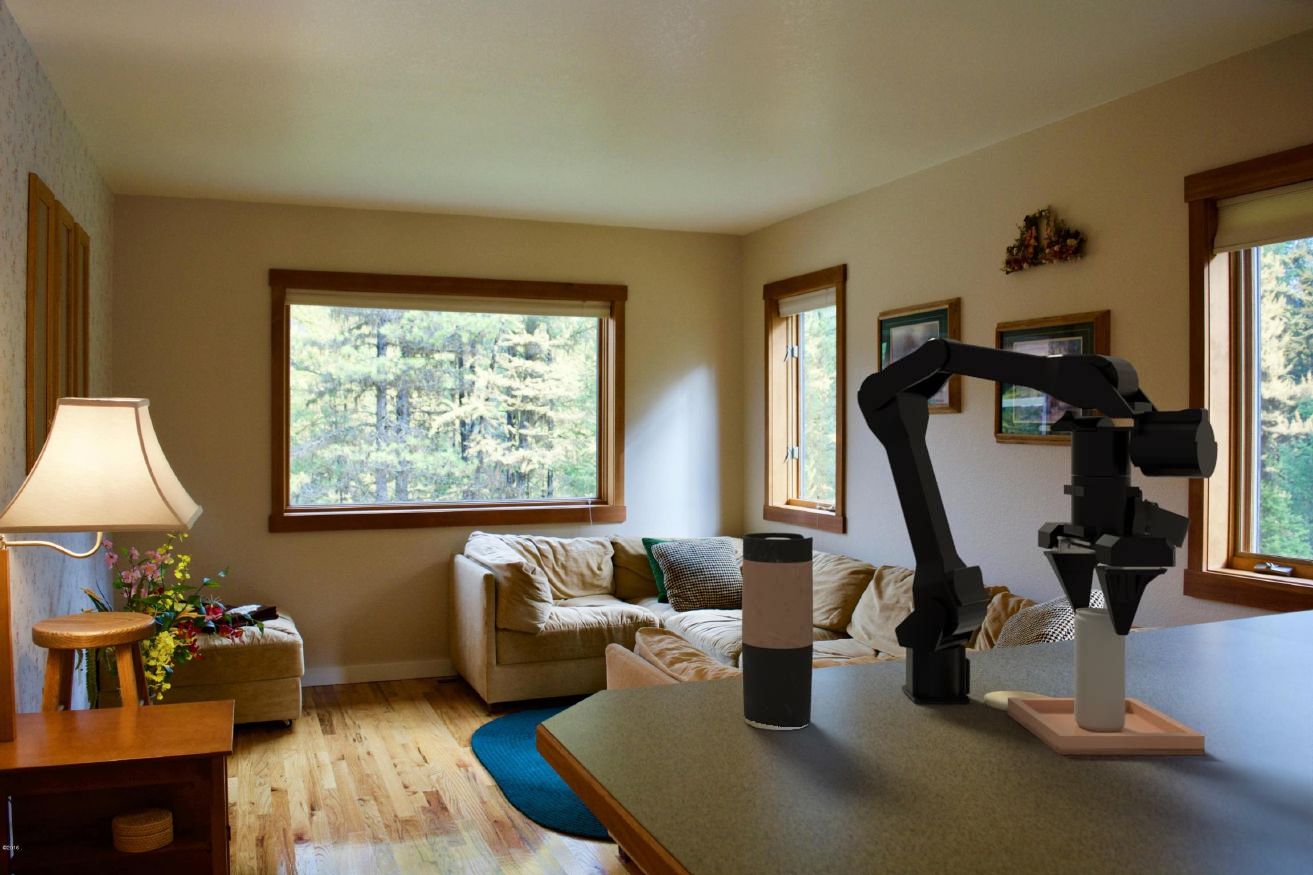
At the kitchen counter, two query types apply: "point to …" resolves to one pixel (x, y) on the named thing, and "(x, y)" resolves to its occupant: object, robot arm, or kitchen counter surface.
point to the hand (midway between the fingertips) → (1101, 626)
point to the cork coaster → (1001, 698)
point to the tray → (1137, 737)
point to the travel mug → (777, 628)
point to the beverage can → (1098, 672)
